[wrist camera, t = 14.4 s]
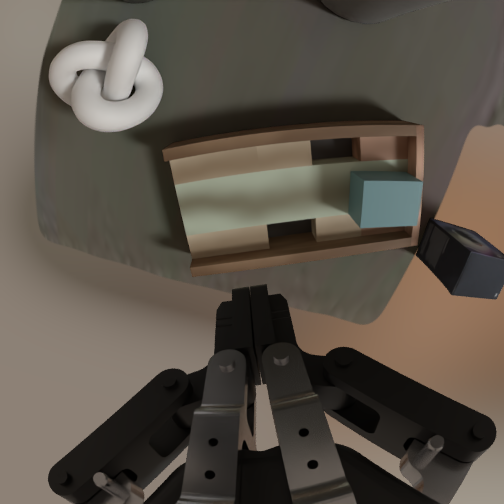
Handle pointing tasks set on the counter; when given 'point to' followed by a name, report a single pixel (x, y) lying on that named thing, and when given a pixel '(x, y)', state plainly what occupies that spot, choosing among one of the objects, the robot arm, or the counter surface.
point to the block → (384, 198)
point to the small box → (462, 260)
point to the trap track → (287, 192)
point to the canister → (376, 8)
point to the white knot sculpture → (109, 79)
